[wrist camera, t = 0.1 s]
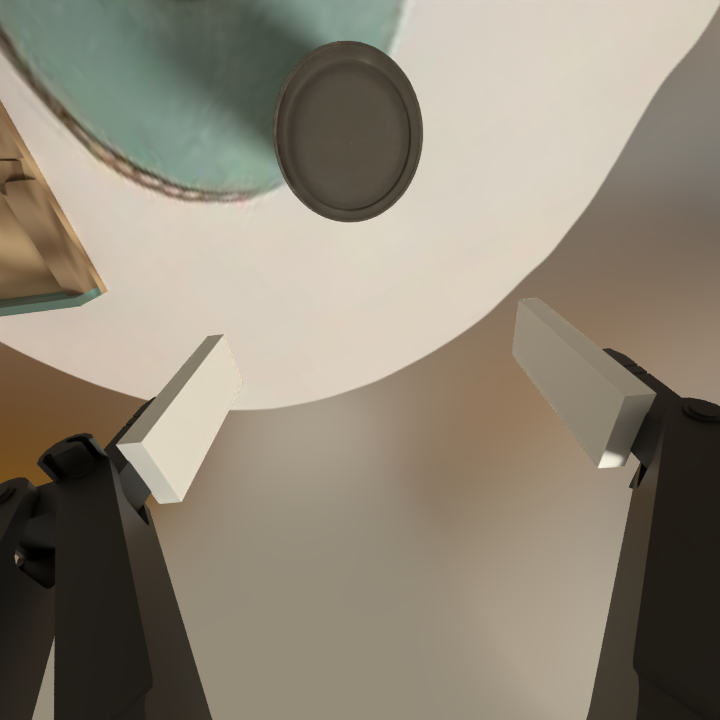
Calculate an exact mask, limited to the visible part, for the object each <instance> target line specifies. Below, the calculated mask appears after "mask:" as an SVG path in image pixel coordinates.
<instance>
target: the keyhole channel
mask: <svg viewBox="0 0 720 720" xmlns="http://www.w3.org/2000/svg"><path fill="white" fill-rule="evenodd" d="M105 292H107V289H106V287H105V285H104V284H103V282H102V280H101V278H100V277H99V275H98V273H97V271H96V269H95V268H94V266H93V264H92V262H91V261H90V259H89V257H88V255H87V253H86V252H85V250H84V248H83V246H82V245H81V243H80V241H79V239H78V237H77V236H76V234H75V232H74V230H73V229H72V227H71V225H70V223H69V221H68V220H67V218H66V216H65V214H64V213H63V211H62V209H61V207H60V205H59V204H58V202H57V200H56V198H55V197H54V195H53V193H52V191H51V189H50V188H49V186H48V184H47V182H46V181H45V179H44V177H43V175H42V173H41V172H40V170H39V168H38V166H37V165H36V163H35V161H34V159H33V157H32V156H31V154H30V152H29V150H28V149H27V147H26V145H25V143H24V141H23V140H22V138H21V136H20V134H19V133H18V131H17V129H16V127H15V125H14V124H13V122H12V120H11V118H10V117H9V115H8V113H7V111H6V109H5V108H4V106H3V104H2V102H1V101H0V316H8V315H16V314H23V313H31V312H39V311H47V310H54V309H62V308H70V307H77V306H81V305H83V304H85V303H87V302H89V301H90V300H92V299H94V298H96V297H98V296H100V295H102V294H104V293H105Z"/></svg>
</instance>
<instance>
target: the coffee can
mask: <svg viewBox="0 0 720 720" xmlns="http://www.w3.org/2000/svg"><path fill="white" fill-rule="evenodd" d="M273 140H274V148H275V153H276V157H277V161H278V164H279V167H280V170H281V172H282V174H283V177H284V179H285V181H286V182H287V184H288V186H289V187H290V189H291V190H292V192H293V193H294V194H295V195H296V196H297V198H298V199H299V200H300V201H301V202H302V203H303V204H304V205H305V206H307V207H308V208H309V209H311V210H312V211H314V212H315V213H317V214H319V215H321V216H323V217H325V218H328V219H331V220H335V221H340V222H360V221H365V220H368V219H371V218H374V217H376V216H378V215H380V214H382V213H383V212H385V211H386V210H388V209H389V208H390V207H391V206H393V205H394V204H395V203H396V202H397V201H398V200H399V199H400V198H401V197H402V195H403V194H404V193H405V191H406V190H407V188H408V187H409V185H410V183H411V181H412V179H413V177H414V175H415V173H416V170H417V167H418V164H419V160H420V156H421V151H422V143H423V124H422V116H421V111H420V107H419V103H418V100H417V97H416V94H415V92H414V90H413V87H412V85H411V83H410V81H409V79H408V78H407V76H406V75H405V74H404V72H403V71H402V69H401V68H400V67H399V66H398V65H397V64H396V63H395V62H394V61H393V60H392V59H391V58H390V57H389V56H387V55H386V54H385V53H383V52H382V51H380V50H378V49H377V48H375V47H373V46H370V45H367V44H364V43H361V42H355V41H338V42H332V43H329V44H326V45H323V46H321V47H319V48H317V49H315V50H313V51H312V52H310V53H308V54H307V55H306V56H305V57H304V58H302V59H301V60H300V61H299V63H298V64H297V65H296V66H295V67H294V68H293V69H292V71H291V72H290V74H289V75H288V77H287V78H286V80H285V82H284V84H283V86H282V88H281V91H280V93H279V96H278V99H277V103H276V107H275V112H274V120H273Z"/></svg>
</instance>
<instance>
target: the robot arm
mask: <svg viewBox="0 0 720 720" xmlns="http://www.w3.org/2000/svg"><path fill="white" fill-rule="evenodd" d="M512 356H513V357H514V358H515V360H516V361H517V362H518V363H519V365H520V366H521V367H522V369H523V370H524V371H525V373H526V374H527V375H528V377H529V378H530V379H531V381H532V382H533V383H534V385H535V386H536V387H537V388H538V390H539V391H540V392H541V394H542V395H543V397H544V398H545V399H546V400H547V402H548V403H549V404H550V406H551V407H552V408H553V410H554V411H555V412H556V414H557V415H558V416H559V418H560V419H561V420H562V422H563V423H564V424H565V425H566V427H567V428H568V430H569V431H570V432H571V433H572V435H573V436H574V437H575V439H576V440H577V441H578V443H579V444H580V445H581V447H582V448H583V449H584V451H585V452H586V453H587V455H588V456H589V457H590V459H591V460H592V461H593V462H594V464H595V465H596V466H597V468H607V467H619V466H625V464H626V461H627V459H628V457H629V455H630V453H631V452H632V453H633V454H634V455H635V456H636V457H637V459H638V460H639V461H640V464H639V467H638V469H637V471H636V473H635V475H634V477H633V479H632V481H631V483H630V486H629V487H630V488H632V489H633V492H632V497H631V502H630V507H629V512H628V517H627V522H626V527H625V532H624V538H623V542H622V547H621V552H620V557H619V563H618V568H617V572H616V578H615V582H614V587H613V593H612V598H611V603H610V608H609V613H608V618H607V623H606V628H605V633H604V638H603V643H602V648H601V653H600V659H599V663H598V668H597V673H596V678H595V683H594V688H593V693H592V699H591V704H590V708H589V713H588V716H587V719H586V720H720V406H718V405H716V404H713V403H711V402H708V401H705V400H701V399H695V398H681V397H680V396H679V395H677V394H676V393H675V392H673V391H672V390H671V389H669V388H668V387H667V386H665V385H664V384H663V383H662V382H660V381H659V380H657V379H656V378H655V377H654V376H652V375H651V374H647V371H646V370H644V369H643V368H642V367H640V366H637V364H636V363H635V362H634V361H632V360H631V359H630V358H628V357H627V356H626V355H624V354H621V353H619V352H617V351H614V350H612V349H610V348H609V349H601V348H600V347H598V346H597V345H596V344H595V343H593V342H592V341H591V340H590V339H588V338H587V337H586V336H585V335H583V334H582V333H581V332H580V331H578V330H577V329H576V328H575V327H573V326H572V325H571V324H570V323H568V322H567V321H566V320H565V319H564V318H562V317H561V316H560V315H559V314H557V313H556V312H555V311H554V310H552V309H551V308H550V307H549V306H547V305H546V304H545V303H543V302H542V301H541V300H540V299H538V298H529V299H520V300H519V304H518V311H517V318H516V326H515V333H514V340H513V348H512ZM242 384H243V381H242V379H241V376H240V374H239V371H238V369H237V366H236V364H235V361H234V358H233V356H232V353H231V351H230V348H229V346H228V343H227V341H226V338H225V336H224V334H222V335H213V336H208V337H207V338H206V339H205V340H204V341H203V342H202V344H201V345H200V346H199V347H198V348H197V350H196V351H195V352H194V353H193V354H192V355H191V357H190V358H189V359H188V360H187V361H186V363H185V364H184V365H183V366H182V367H181V368H180V370H179V371H178V372H177V373H176V374H175V376H174V377H173V378H172V379H171V380H170V381H169V383H168V384H167V385H166V386H165V387H164V389H163V390H162V391H161V392H160V393H159V394H158V396H157V397H154V398H152V399H151V400H149V401H148V402H147V403H145V404H144V405H143V406H142V407H140V409H139V410H138V411H137V412H136V413H135V414H134V415H133V418H131V419H130V420H129V421H128V422H127V423H126V426H124V427H123V428H122V429H121V430H120V432H119V433H118V434H117V435H116V436H115V437H114V438H113V440H112V441H111V442H110V443H109V444H108V445H107V446H106V448H105V449H104V450H103V449H102V448H101V446H100V445H99V444H98V442H97V441H96V440H95V438H94V437H93V436H92V435H91V434H88V433H83V434H77V435H74V436H71V437H68V438H66V439H64V440H62V441H60V442H58V443H56V444H55V445H53V446H52V447H51V448H49V449H48V450H47V451H45V453H44V454H43V455H42V456H41V457H40V458H39V460H38V462H37V464H38V466H40V468H41V469H42V470H43V471H44V472H45V473H46V474H47V475H48V476H49V477H50V478H51V479H52V480H53V482H50V483H47V484H44V485H41V486H38V487H35V486H34V485H33V484H32V483H31V482H30V481H29V480H28V479H26V478H19V477H18V478H15V479H11V480H8V481H6V482H4V483H1V484H0V720H32V717H33V713H34V709H35V705H36V702H37V698H38V695H39V691H40V687H41V684H42V680H43V676H44V672H45V669H46V665H47V661H48V658H49V654H50V650H51V647H52V643H53V639H54V636H55V663H54V664H55V665H54V669H55V671H54V720H212V717H211V714H210V711H209V708H208V704H207V701H206V697H205V694H204V691H203V687H202V684H201V681H200V677H199V674H198V671H197V667H196V664H195V660H194V657H193V654H192V650H191V647H190V644H189V640H188V637H187V634H186V630H185V627H184V624H183V620H182V617H181V614H180V610H179V607H178V603H177V600H176V597H175V593H174V590H173V587H172V583H171V580H170V577H169V573H168V570H167V566H166V563H165V560H164V556H163V553H162V550H161V546H160V543H159V540H158V536H157V533H156V530H155V526H154V523H153V519H152V516H151V513H150V509H149V508H148V507H147V505H146V504H145V501H146V499H147V498H148V496H149V495H150V493H152V494H153V496H154V497H155V498H156V500H157V501H158V502H159V504H160V503H174V502H181V501H182V500H183V498H184V496H185V494H186V492H187V490H188V488H189V486H190V484H191V482H192V480H193V479H194V477H195V475H196V472H197V471H198V469H199V467H200V465H201V463H202V461H203V459H204V457H205V455H206V453H207V452H208V450H209V448H210V446H211V443H212V442H213V439H214V438H215V436H216V434H217V432H218V430H219V428H220V426H221V424H222V423H223V421H224V419H225V417H226V415H227V413H228V411H229V409H230V407H231V405H232V403H233V401H234V399H235V397H236V396H237V394H238V392H239V390H240V388H241V386H242ZM15 554H16V555H17V556H18V557H19V559H18V561H17V564H16V563H15V557H14V556H15Z"/></svg>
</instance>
